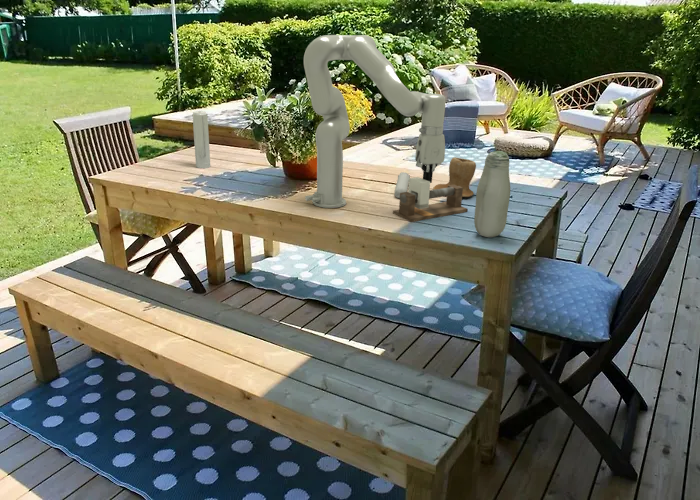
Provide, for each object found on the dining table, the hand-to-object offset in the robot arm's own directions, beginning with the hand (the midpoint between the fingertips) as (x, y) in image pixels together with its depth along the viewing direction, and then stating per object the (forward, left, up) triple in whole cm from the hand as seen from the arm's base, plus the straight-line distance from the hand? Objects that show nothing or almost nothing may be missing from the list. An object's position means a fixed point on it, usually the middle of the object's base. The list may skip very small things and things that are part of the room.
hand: (427, 182), depth 218 cm
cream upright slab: (-4, 0, -8) cm, 9 cm away
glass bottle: (+3, -29, -12) cm, 32 cm away
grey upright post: (-47, +105, -12) cm, 115 cm away
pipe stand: (+2, 0, -12) cm, 12 cm away
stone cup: (+27, +15, -12) cm, 33 cm away
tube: (+11, +29, -12) cm, 33 cm away
